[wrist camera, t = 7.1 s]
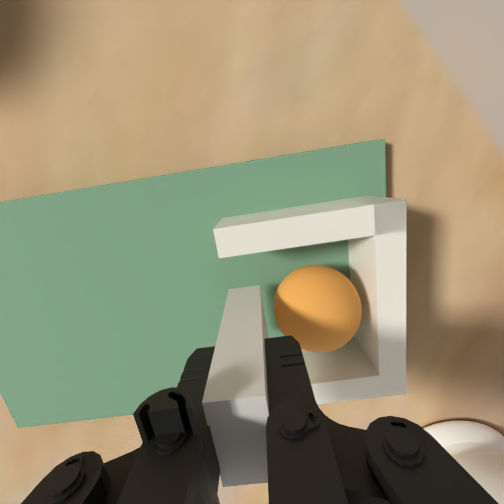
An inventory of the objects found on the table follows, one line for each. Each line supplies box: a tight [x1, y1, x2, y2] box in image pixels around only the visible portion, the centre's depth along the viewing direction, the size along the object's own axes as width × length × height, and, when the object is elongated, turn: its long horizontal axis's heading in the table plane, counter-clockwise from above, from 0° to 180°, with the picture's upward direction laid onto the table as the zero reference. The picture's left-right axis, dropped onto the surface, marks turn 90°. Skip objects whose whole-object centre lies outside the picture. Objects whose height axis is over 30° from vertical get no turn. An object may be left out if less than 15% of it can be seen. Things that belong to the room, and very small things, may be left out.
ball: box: [274, 265, 362, 353], centre depth 12 cm, size 4×4×4 cm
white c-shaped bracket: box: [213, 195, 406, 404], centre depth 13 cm, size 9×7×3 cm
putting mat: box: [0, 139, 386, 428], centre depth 15 cm, size 14×24×1 cm, turn 99°
